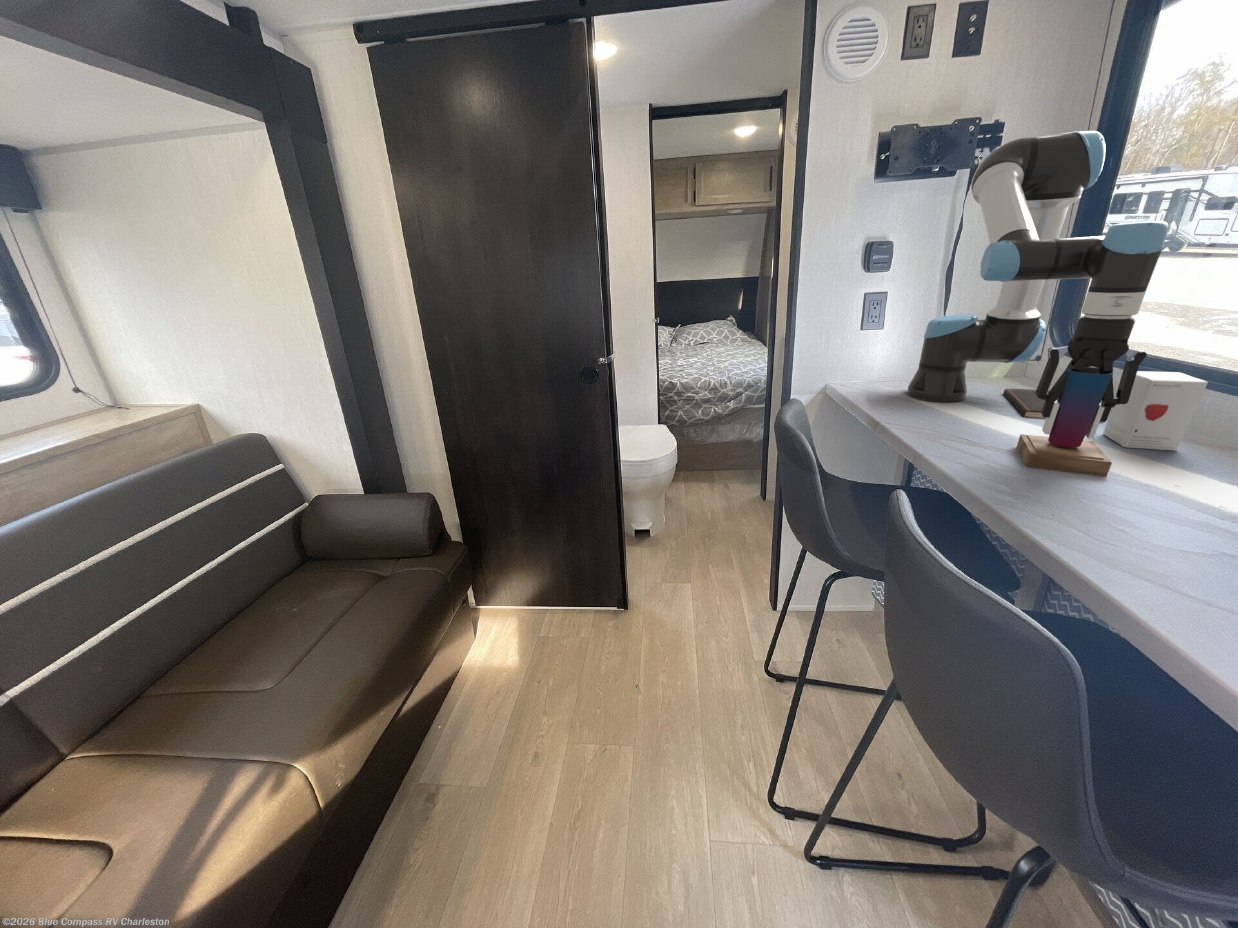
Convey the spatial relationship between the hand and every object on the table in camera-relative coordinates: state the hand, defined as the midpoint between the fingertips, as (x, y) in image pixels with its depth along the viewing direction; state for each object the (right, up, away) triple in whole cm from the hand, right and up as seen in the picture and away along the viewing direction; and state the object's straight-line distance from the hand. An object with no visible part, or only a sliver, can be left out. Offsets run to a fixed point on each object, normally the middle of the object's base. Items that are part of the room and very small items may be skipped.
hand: (1066, 434), depth 96 cm
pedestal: (0, -5, +2) cm, 6 cm away
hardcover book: (+27, +9, +34) cm, 44 cm away
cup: (0, -2, +1) cm, 2 cm away
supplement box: (+24, -2, +9) cm, 25 cm away
